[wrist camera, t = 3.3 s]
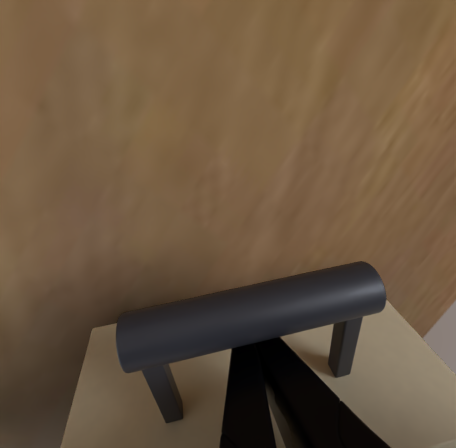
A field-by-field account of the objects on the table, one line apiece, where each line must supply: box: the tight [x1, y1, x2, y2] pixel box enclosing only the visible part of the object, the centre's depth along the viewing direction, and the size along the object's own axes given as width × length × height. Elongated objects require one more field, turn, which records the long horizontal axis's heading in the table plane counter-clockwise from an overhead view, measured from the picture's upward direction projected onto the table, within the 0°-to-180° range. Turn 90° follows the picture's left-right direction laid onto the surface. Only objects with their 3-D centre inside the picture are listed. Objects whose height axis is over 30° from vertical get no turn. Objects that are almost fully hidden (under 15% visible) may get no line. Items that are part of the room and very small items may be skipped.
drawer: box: [60, 261, 456, 448], centre depth 13 cm, size 19×13×7 cm
